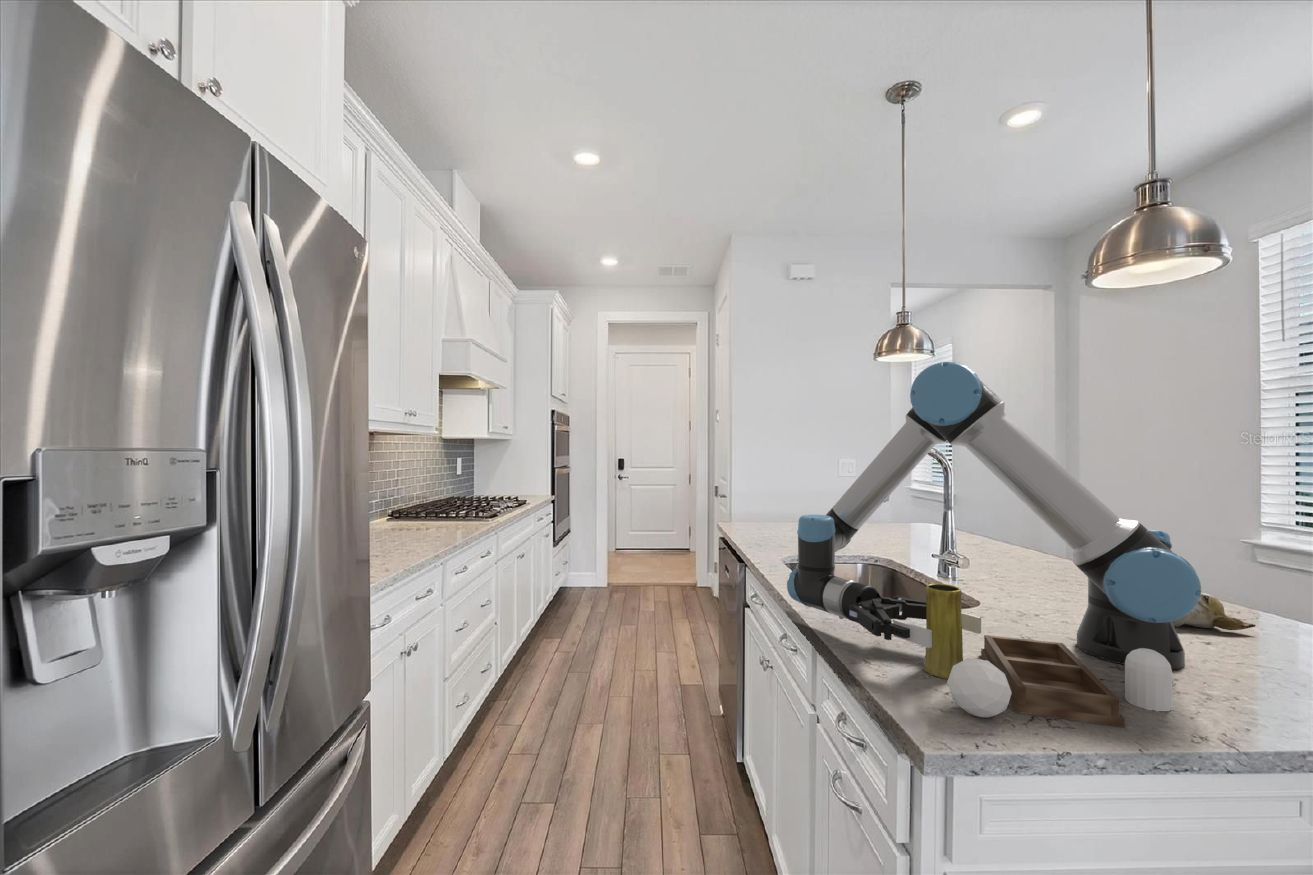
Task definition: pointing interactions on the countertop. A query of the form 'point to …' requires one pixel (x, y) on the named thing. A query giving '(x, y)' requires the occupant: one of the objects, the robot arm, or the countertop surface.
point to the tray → (1051, 681)
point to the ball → (979, 687)
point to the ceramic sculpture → (1211, 616)
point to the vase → (943, 629)
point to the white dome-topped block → (1148, 680)
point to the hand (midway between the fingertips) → (956, 632)
